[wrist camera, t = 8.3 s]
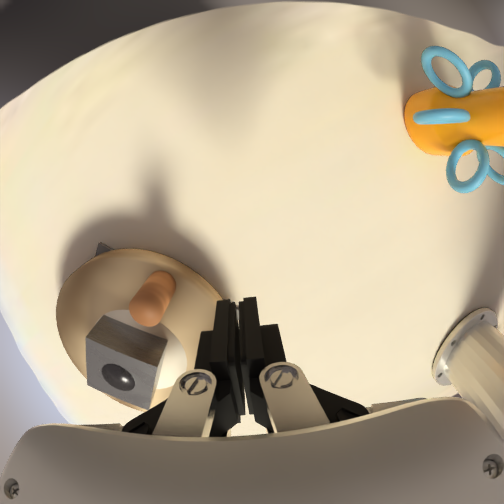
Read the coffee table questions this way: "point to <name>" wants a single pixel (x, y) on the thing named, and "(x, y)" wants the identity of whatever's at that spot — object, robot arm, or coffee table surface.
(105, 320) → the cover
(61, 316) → the turntable
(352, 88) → the coffee table surface
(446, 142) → the cylinder
